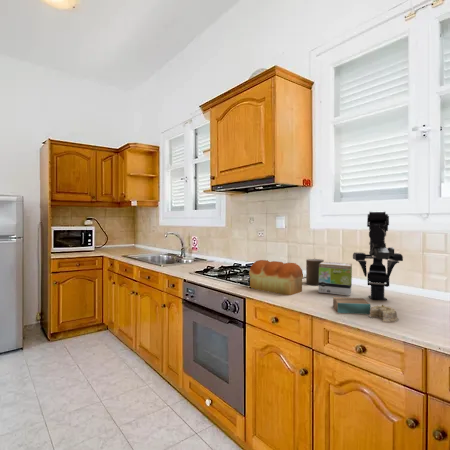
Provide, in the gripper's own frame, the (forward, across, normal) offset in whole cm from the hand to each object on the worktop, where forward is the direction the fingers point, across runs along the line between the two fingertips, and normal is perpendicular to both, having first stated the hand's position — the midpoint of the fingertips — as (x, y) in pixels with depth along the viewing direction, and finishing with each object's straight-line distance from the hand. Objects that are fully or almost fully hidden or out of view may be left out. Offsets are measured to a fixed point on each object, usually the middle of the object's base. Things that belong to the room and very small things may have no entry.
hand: (377, 276), depth 137 cm
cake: (+12, -4, -20) cm, 24 cm away
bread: (+12, -42, +24) cm, 50 cm away
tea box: (+12, -13, +22) cm, 28 cm away
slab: (+10, -13, -5) cm, 17 cm away
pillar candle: (+12, -20, +44) cm, 50 cm away
